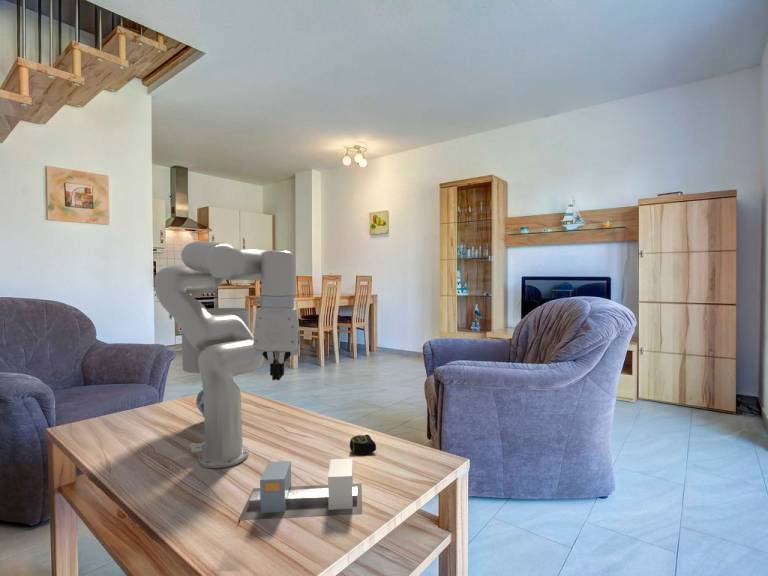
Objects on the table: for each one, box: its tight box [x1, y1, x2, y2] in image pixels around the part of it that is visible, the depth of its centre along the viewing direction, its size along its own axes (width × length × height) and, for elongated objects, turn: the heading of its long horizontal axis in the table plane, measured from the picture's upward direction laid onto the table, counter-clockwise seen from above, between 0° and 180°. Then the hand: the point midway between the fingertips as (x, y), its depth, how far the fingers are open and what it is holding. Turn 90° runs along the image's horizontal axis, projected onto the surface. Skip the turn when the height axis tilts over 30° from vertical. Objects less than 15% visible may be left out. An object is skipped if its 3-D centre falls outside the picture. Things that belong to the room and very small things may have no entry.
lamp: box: [181, 307, 251, 424], centre depth 139 cm, size 22×22×38 cm
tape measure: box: [349, 434, 377, 455], centre depth 115 cm, size 7×7×4 cm
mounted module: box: [327, 458, 354, 510], centre depth 89 cm, size 5×8×7 cm, turn 4°
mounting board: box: [237, 482, 363, 525], centre depth 89 cm, size 25×12×1 cm, turn 94°
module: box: [259, 460, 292, 513], centre depth 88 cm, size 5×8×7 cm, turn 4°
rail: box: [248, 487, 357, 507], centre depth 89 cm, size 23×4×2 cm, turn 94°
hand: (277, 378), depth 97 cm, fingers closed
